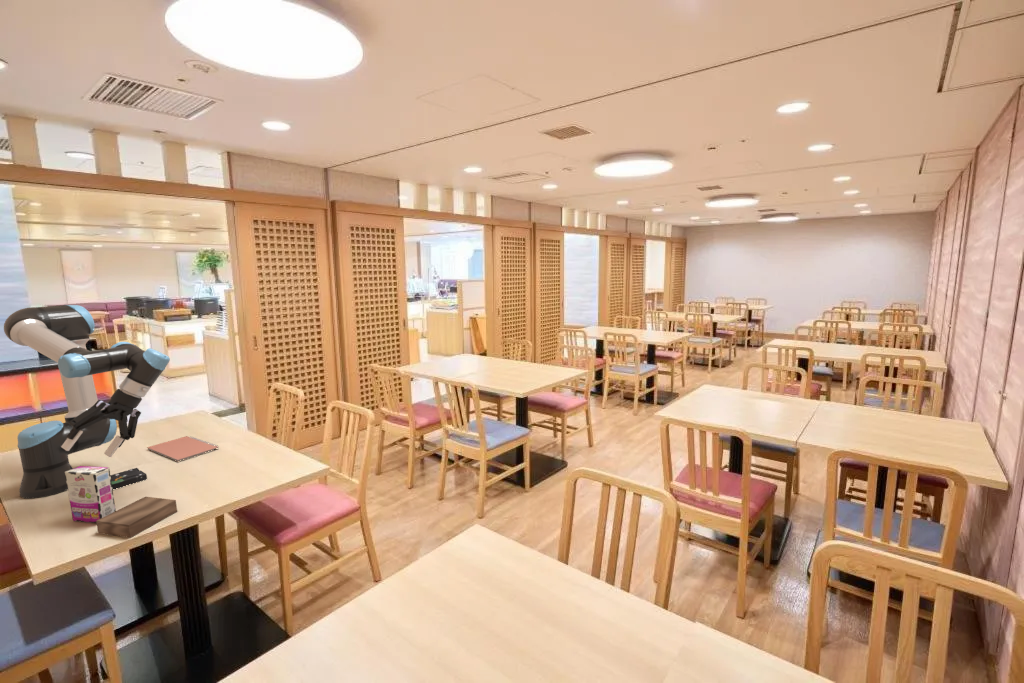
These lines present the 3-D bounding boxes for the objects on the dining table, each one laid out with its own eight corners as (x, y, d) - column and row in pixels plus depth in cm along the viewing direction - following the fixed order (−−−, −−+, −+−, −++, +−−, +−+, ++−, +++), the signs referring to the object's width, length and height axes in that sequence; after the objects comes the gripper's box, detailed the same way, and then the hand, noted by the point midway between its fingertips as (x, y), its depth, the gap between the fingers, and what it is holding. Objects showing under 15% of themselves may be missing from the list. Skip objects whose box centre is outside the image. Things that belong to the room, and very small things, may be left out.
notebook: (221, 449, 203) (221, 445, 203) (178, 463, 189) (177, 459, 189) (189, 438, 217) (189, 434, 217) (147, 451, 203) (146, 446, 203)
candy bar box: (118, 515, 149) (110, 466, 146) (102, 524, 144) (93, 473, 141) (88, 513, 151) (80, 464, 148) (71, 521, 146) (63, 471, 143)
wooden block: (98, 533, 139) (96, 520, 138) (147, 507, 153) (145, 496, 153) (130, 537, 136) (128, 525, 136) (177, 511, 151) (175, 500, 150)
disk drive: (137, 474, 180) (87, 489, 168) (136, 467, 180) (86, 481, 168) (148, 480, 175) (96, 496, 162) (147, 473, 174) (95, 489, 162)
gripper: (101, 387, 142) (52, 451, 137) (169, 406, 165) (130, 462, 159) (86, 377, 144) (37, 440, 139) (155, 398, 167) (116, 452, 162)
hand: (86, 452), depth 149 cm, fingers open, 13 cm apart
